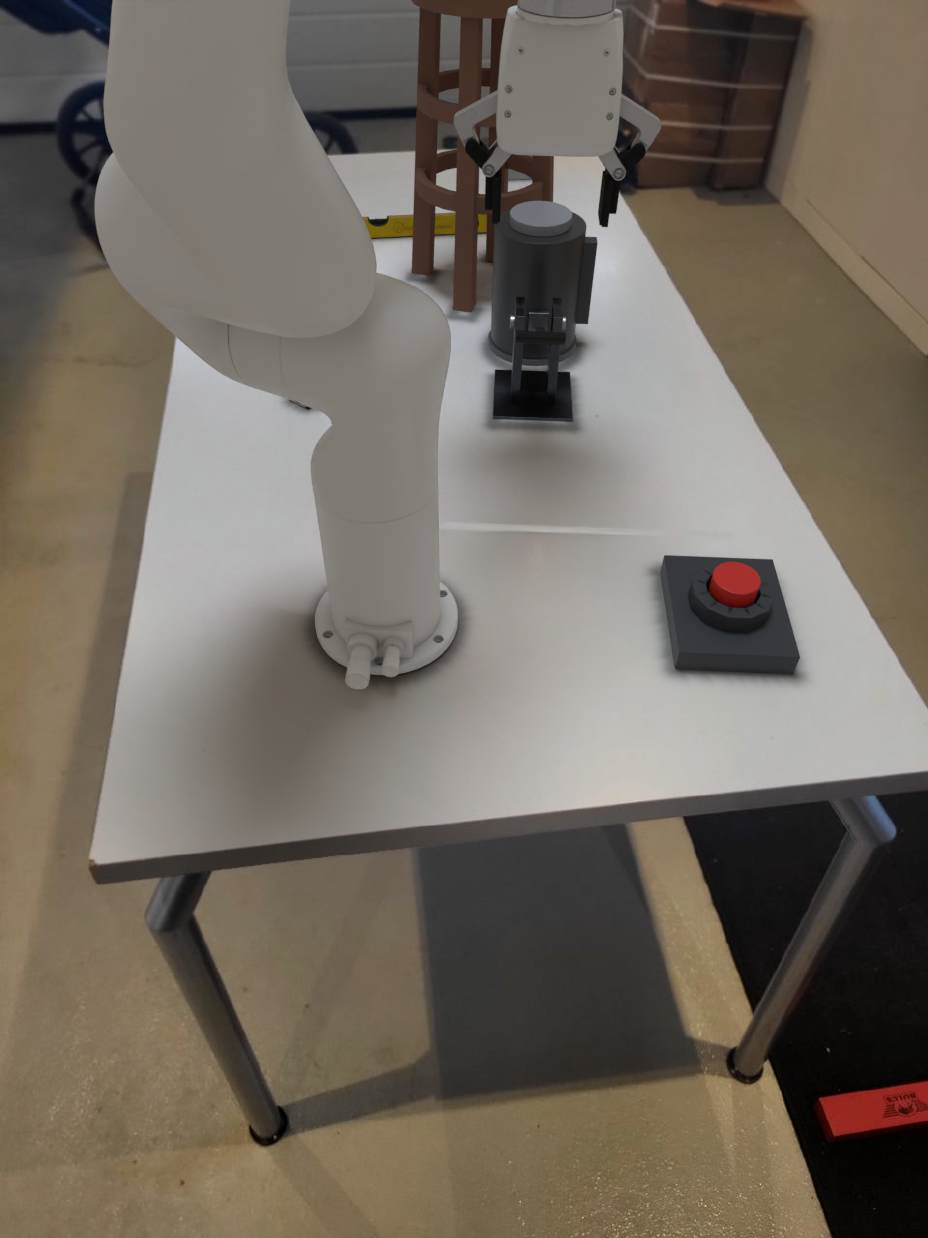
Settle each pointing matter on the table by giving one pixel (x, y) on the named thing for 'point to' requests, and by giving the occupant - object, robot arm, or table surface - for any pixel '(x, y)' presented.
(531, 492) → the table surface
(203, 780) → the table surface
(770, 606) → the power block
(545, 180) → the stool
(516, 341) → the kettle switch
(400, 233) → the spirit level
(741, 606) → the power button
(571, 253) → the kettle
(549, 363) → the switch bracket
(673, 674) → the table surface
